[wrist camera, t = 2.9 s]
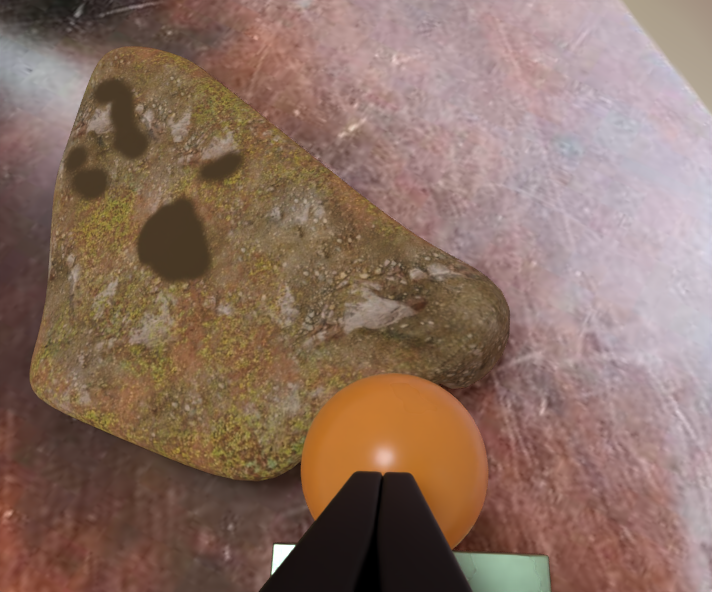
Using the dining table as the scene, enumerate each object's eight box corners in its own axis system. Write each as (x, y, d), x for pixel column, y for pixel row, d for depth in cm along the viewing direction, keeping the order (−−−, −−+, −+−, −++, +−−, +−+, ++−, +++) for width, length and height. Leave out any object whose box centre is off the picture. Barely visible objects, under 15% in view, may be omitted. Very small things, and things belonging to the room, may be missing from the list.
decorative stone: (531, 341, 21) (527, 296, 17) (243, 638, 21) (161, 671, 16) (193, 62, 33) (138, -10, 28) (1, 248, 32) (-87, 205, 28)
